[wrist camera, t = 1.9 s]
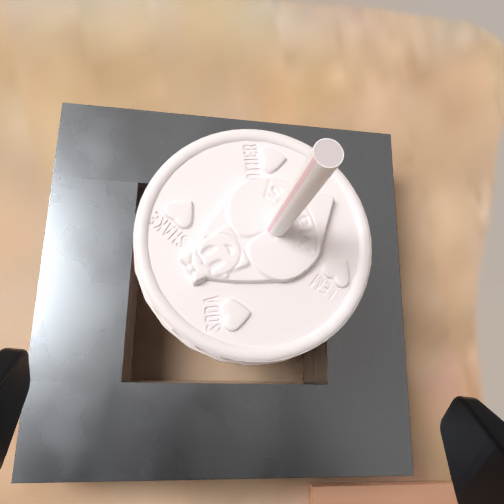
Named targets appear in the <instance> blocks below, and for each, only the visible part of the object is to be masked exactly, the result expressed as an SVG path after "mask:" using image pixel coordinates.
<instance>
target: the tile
mask: <svg viewBox="0 0 504 504" xmlns="http://www.w3.org/2000/svg"><path fill="white" fill-rule="evenodd" d="M309 488H310V504H458V502H457V499H456V495H455V491H454V487H453V483H452V481H420V482H374V483H328V484H309Z"/></svg>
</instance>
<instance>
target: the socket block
mask: <svg viewBox="0 0 504 504" xmlns="http://www.w3.org/2000/svg"><path fill="white" fill-rule="evenodd" d="M239 129H256V130H265V131H271V132H276V133H279V134H283V135H286V136H289V137H292V138H294V139H297V140H299V141H301V142H303V143H305V144H307V145H309V146H310V147H312V148H313V146H314V145H315V143H316V142H317V141H319V140H320V139H323V138H329V139H333V140H335V141H337V142H338V143H339V144H340V145H341V147H342V149H343V151H344V158H343V161H342V163H341V164H340V165H339V166H338V169H339V170H340V171H341V172H342V173H343V175H344V176H345V177H346V178H347V180H348V181H349V182H350V184H351V185H352V187H353V188H354V190H355V192H356V194H357V195H358V197H359V199H360V201H361V204H362V206H363V208H364V211H365V214H366V217H367V220H368V224H369V229H370V235H371V246H372V256H371V267H370V273H369V277H368V281H367V285H366V288H365V290H364V293H363V296H362V298H361V300H360V302H359V304H358V306H357V307H356V309H355V310H354V312H353V313H352V315H351V316H350V318H349V319H348V320H347V321H346V323H345V324H344V325H343V326H342V327H341V328H340V329H339V330H338V331H337V332H336V333H335V334H334V335H332V336H331V337H330V338H329V339H328V340H326V341H325V342H323V343H322V344H320V345H319V346H317V347H315V348H313V349H311V350H309V351H307V352H305V353H303V373H304V382H251V381H167V380H131V372H132V359H133V346H134V334H135V321H136V308H137V295H138V283H139V281H138V278H137V275H136V273H135V265H134V250H133V231H134V222H135V218H136V213H137V209H138V206H139V203H140V200H141V198H142V196H143V193H144V191H145V189H146V187H147V186H148V184H149V182H150V181H151V179H152V178H153V176H154V175H155V174H156V172H157V171H158V170H159V169H160V167H161V166H162V165H163V164H164V163H165V162H166V161H167V160H168V159H169V158H170V157H172V156H173V155H174V154H175V153H177V152H178V151H179V150H181V149H182V148H184V147H185V146H187V145H189V144H190V143H192V142H194V141H196V140H198V139H201V138H203V137H206V136H209V135H211V134H215V133H219V132H223V131H229V130H239ZM29 367H30V388H29V391H28V394H27V397H26V400H25V403H24V406H23V408H22V411H21V416H20V423H19V430H18V438H17V445H16V453H15V460H14V468H13V475H12V482H11V483H54V482H105V481H156V480H206V479H257V478H308V477H359V476H409V475H413V461H412V447H411V432H410V417H409V402H408V387H407V372H406V358H405V343H404V328H403V313H402V298H401V283H400V269H399V254H398V239H397V224H396V209H395V194H394V180H393V165H392V150H391V135H390V134H380V133H370V132H360V131H350V130H339V129H329V128H319V127H308V126H298V125H288V124H277V123H267V122H257V121H247V120H236V119H226V118H216V117H205V116H195V115H185V114H174V113H164V112H154V111H143V110H133V109H123V108H113V107H102V106H92V105H82V104H71V103H63V104H62V111H61V119H60V126H59V133H58V141H57V148H56V156H55V163H54V171H53V178H52V185H51V193H50V200H49V208H48V215H47V223H46V230H45V237H44V245H43V252H42V260H41V267H40V275H39V282H38V289H37V297H36V304H35V312H34V319H33V326H32V334H31V341H30V349H29Z"/></svg>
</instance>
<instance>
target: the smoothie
mask: <svg viewBox="0 0 504 504" xmlns="http://www.w3.org/2000/svg"><path fill="white" fill-rule="evenodd" d="M343 158H344V151H343V149H342V147H341V145H340V144H339V143H338V142H337V141H335V140H333V139H329V138H323V139H320V140H319V141H317V142H316V143H315V145H314V146H313V148H312V147H310V146H309V145H307V144H305V143H303V142H301V141H299V140H297V139H294V138H292V137H289V136H286V135H283V134H279V133H276V132H271V131H265V130H256V129H239V130H229V131H223V132H219V133H215V134H211V135H209V136H206V137H203V138H201V139H198V140H196V141H194V142H192V143H190V144H189V145H187V146H185V147H184V148H182V149H181V150H179V151H178V152H177V153H175V154H174V155H173V156H172V157H170V158H169V159H168V160H167V161H166V162H165V163H164V164H163V165H162V166H161V167H160V169H159V170H158V171H157V172H156V174H155V175H154V176H153V178H152V179H151V181H150V182H149V184H148V186H147V187H146V189H145V191H144V193H143V196H142V198H141V200H140V203H139V206H138V209H137V213H136V218H135V222H134V231H133V250H134V265H135V273H136V275H137V278H138V281H139V284H140V287H141V290H142V293H143V296H144V299H145V301H146V302H147V304H148V305H149V307H150V308H151V309H152V311H153V312H154V314H155V315H156V317H157V318H158V320H159V321H160V322H161V324H162V325H163V327H164V328H166V329H167V330H168V331H169V332H170V333H172V334H173V335H174V336H175V337H176V338H178V339H179V340H180V341H181V342H182V343H184V344H185V345H186V346H187V347H188V348H191V349H193V350H195V351H197V352H200V353H202V354H204V355H206V356H208V357H211V358H213V359H215V360H217V361H222V362H228V363H235V364H241V365H248V366H253V365H261V364H270V363H278V362H283V361H285V360H288V359H290V358H292V357H295V356H297V355H300V354H302V353H305V352H307V351H309V350H311V349H313V348H315V347H317V346H319V345H320V344H322V343H323V342H325V341H326V340H328V339H329V338H330V337H331V336H332V335H334V334H335V333H336V332H337V331H338V330H339V329H340V328H341V327H342V326H343V325H344V324H345V323H346V321H347V320H348V319H349V318H350V316H351V315H352V313H353V312H354V310H355V309H356V307H357V306H358V304H359V302H360V300H361V298H362V296H363V293H364V290H365V288H366V285H367V281H368V277H369V273H370V267H371V256H372V246H371V235H370V229H369V224H368V220H367V217H366V214H365V211H364V208H363V206H362V204H361V201H360V199H359V197H358V195H357V194H356V192H355V190H354V188H353V187H352V185H351V184H350V182H349V181H348V180H347V178H346V177H345V176H344V175H343V173H342V172H341V171H340V170H339V169H338V166H339V165H340V164H341V163H342V161H343Z"/></svg>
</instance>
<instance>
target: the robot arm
mask: <svg viewBox="0 0 504 504" xmlns="http://www.w3.org/2000/svg"><path fill="white" fill-rule="evenodd" d="M29 388H30V367H29V356H28V353H27V351H26V350H24V349H14V348H4V349H2V350H0V469H1V467H2V464H3V462H4V459H5V456H6V454H7V451H8V448H9V445H10V442H11V439H12V437H13V434H14V431H15V428H16V425H17V423H18V420H19V417H20V414H21V411H22V408H23V406H24V403H25V400H26V397H27V394H28V391H29ZM440 430H441V435H442V440H443V444H444V448H445V453H446V457H447V461H448V466H449V470H450V474H451V479H452V483H453V487H454V491H455V495H456V499H457V502H458V504H504V421H502V420H501V419H500V418H499V417H498V416H497V415H495V414H494V413H493V412H492V411H491V410H490V409H488V408H487V407H486V406H485V405H484V404H482V403H481V402H480V401H479V400H477V399H476V398H472V397H463V396H458V397H456V398H454V400H453V401H452V403H451V405H450V406H449V408H448V410H447V411H446V413H445V415H444V416H443V418H442V420H441V425H440Z"/></svg>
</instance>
